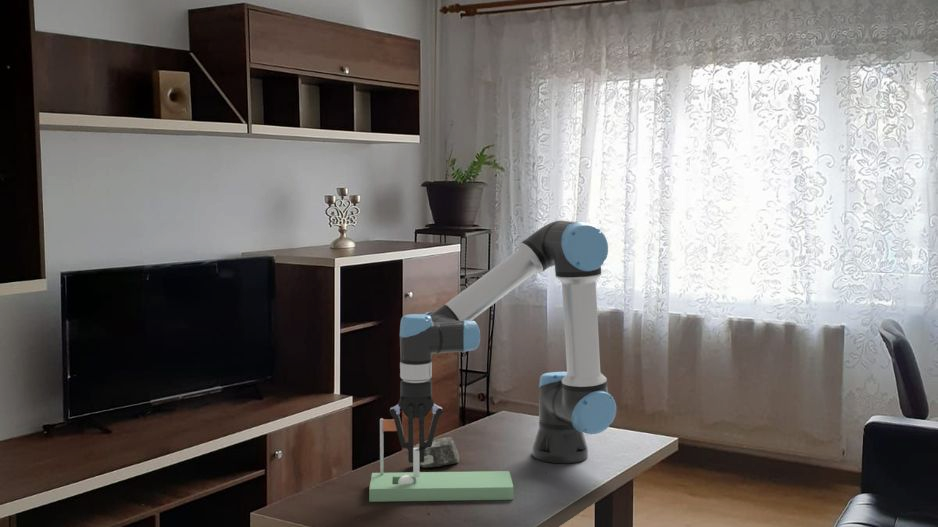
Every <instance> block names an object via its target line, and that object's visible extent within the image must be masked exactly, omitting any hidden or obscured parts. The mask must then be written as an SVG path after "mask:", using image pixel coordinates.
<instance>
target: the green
mask: <svg viewBox="0 0 938 527" xmlns="http://www.w3.org/2000/svg"><path fill="white" fill-rule="evenodd" d="M384 432H397V429H396V425H395V421H394V418H392V419H384V418H380V419H379V459H380V460H379V464H380V465H379V469H380V470H379V472H372V473H371V479H370V483H369V489H368V490H369V492H368V495H369V496H368V499H369V503H370V502H371V503H372V502H373V503H375V502H379V503H380V502H381V503H382V502H429V501H431V502H432V501H433V502H434V501H435V502H439V501H441V502H442V501H447V502H449V501H500V500H501V501H502V500H503V501H504V500H506V501H508V500H509V501H510V500H514V498H515V496H514V493H515V492H514V491H515V490H514V483H513V479H512V477H511V472H510V470H494V471H490V470H489V471H488V470H487V471H485V470H483V471H482V470H481V471H479V470H478V471H428V472H427V471H420V475H419V477H413V471H410V472H406V471H405V472H385V471H384V469H385V468H384V467H385V466H384ZM404 475H408V476H411V477H412V478H413V480H414V484H398V481H399V479H400V478H401V477H402V476H404Z"/></svg>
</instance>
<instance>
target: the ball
mask: <svg viewBox="0 0 938 527" xmlns="http://www.w3.org/2000/svg"><path fill="white" fill-rule="evenodd" d="M398 484H414V480H413V478H412V477H411V476H408V475H404V476H402V477H401V478H400V479H399V481H398Z"/></svg>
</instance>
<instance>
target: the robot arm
mask: <svg viewBox="0 0 938 527" xmlns="http://www.w3.org/2000/svg"><path fill="white" fill-rule="evenodd" d="M608 243H609V242H608V240H607V238H606V236H605V234H604V232H603V231H602V230H601V229H600V228H598V227H597V226H596V225H594V224H590V223H588V222H583V221H572V220H571V221H570V220H555V221H552V222H550V223H549V222H548V224H546V225H544V226H542V227H541V228H539V229H538V230H536V231H535V232H534V233H532V234H531V235H529V236H528V237H527V238H525V239H524V240H523V241H521V242H520V243H518V247H517V250H516V251H514V252H513V253H512V254H510V255H509V256H507V257H506V258H505V259H504V260H502V261H500V262H499V263H498V264H497V265H495V266H494V267H493V268H492V269H490V270H489V271H488V272H487V273H485V274H484V275H482V276H481V277H480V278H478V279H477V280H476V281H474V282H473V283H472V284H470V285H469V286H468V287H466V288H465V289H464V290H462V291H461V292H459V293H458V294H457V295H456V296H454V297H453V298H451V299H450V300H448V302H446V303H445V304H444V305H442V306H441V307H439V308H437V310H435V311H433V310H432V311H427V312H425V313H424V314H423V313H412V314H405V315H403V316H402V317H401V319H400V325H399V347H400V350H399V351H400V353H399V354H400V360H399V361H400V362H399V369H400V370H399V371H400V373H399V377H400V379H401V380H400V388H399V389H400V391H399V393H400V395H399V396H400V397H399V400H398V403H397V404H396V405H394V406H391V407H389V408H390V409H389V414H390V415H391V417H392V419H394V421H395V425H396V429H397V431H396V432H397V436H398V440H399V445H400V447H401V448H404V449H407V451H408V452H407V453H408V463H409V464H412V465H413V466H412V468H413V470H412V472H413V477H419V475H420V472H421V471H420V469H421V467H420V465H419V463H423V462H424V450H425V449H426V448H428V447H431V446H432V442H433V440H434V437H435V433H436V430H437V429H436V428H437V425H438V423H439V422H438V421H439V418H440V417H441V415H442V414H443V411H444V410H443V407H442V406H439V405H437V404H435V400H434V399H433V381H432V380H431V379H432V376H433V375H432V374H433V371H432V370H433V369H432V368H433V366H432V363H433V362H432V361H433V359H432V357H433V354H446V353H465V352H470V351H475V350H477V349H478V348H479V346H480V343H481V330H480V327H479V324H478V323H477V322H476V321H475V320H474V319H476V318H477V317H478V316H480V315H481V314H482V313H484V312H485V311H486V310H487V309H489V308H490V307H492V306H493V305H494V304H496V303H497V302H498V301H500V300H501V299H502V298H503V297H505V296H506V295H507V294H509V293H510V292H512V291H514V289H516V288H517V287H518V286H519V285H521V284H522V283H523V282H525V281H526V280H528V279H529V278H530V277H532V276H533V275H534V274H542V273H544V271H546V270H547V269H549V268H552V267H554V270H555V271H554V273H555V274H554V276H555V278H556V279H558V280H559V282H561V288H562V289H561V290H562V308H563V309H562V310H563V324H564V343H565V357H566V359H565V361H566V371H554V372H553V371H552V372H551V371H550V372H546V373H543V374H541V375H540V377H539V384H538V391H539V392H538V397H539V398H538V399H539V400H538V429H537V432H536V435H535V437H534V440H533V444H532V451H531V452H532V457H534V458H535V459H536V460H538V461H542V462H545V463H552V464H572V463H573V464H574V463H579V462H582V461H585V460H587V458H588V457H589V454H588V453H589V447H588V444H587V442H586V438H585V434H586V435H598V434H600V433H603V432H604V431H606V430H607V429H609V427H610V426H611V424H612V423H613V422H614V420H615V418H616V414H617V404H616V400H615V399H614V397H613V396H612V394H610V393H609V392H608V379H607V377H606V376H605V375H604V374H603V373H602V372H601V356H600V340H599V339H600V338H599V319H598V317H599V316H598V302H597V300H598V299H597V284H596V283H597V282H596V281H597V280H598V279H599V277H601V275H602V266H603V264H604V262H605V261H606V260H607V257H608V254H609V245H608ZM400 409H401V410H400ZM401 411H402V412H403V413H404V415H405V416H406V418H408V419H407V421H408V422H407V423H408V424H407V428H408V430H407V431H408V435H407V436H408V437H407V438H408V439H407V440H408V441H406V437H405V434H404V433H405V432H404V429H403V425H402V422H401V417H400V415H401V414H400V413H401ZM430 411H432V419H431V422H430V427H429V431H428V434H427V440H425V417H427V415H428V414H429V412H430ZM416 418H417V419H418V434H419V435H418V444H419V448H415V447H414V419H416Z"/></svg>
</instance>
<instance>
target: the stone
mask: <svg viewBox="0 0 938 527" xmlns="http://www.w3.org/2000/svg"><path fill="white" fill-rule="evenodd" d="M414 448H419V443H417V444H416V445H415V446H414ZM459 463H460V455H459V451H458V449H457V446H456V442H455V440H454V439H453V438H452V437H451V436H447V437H441V438H437V439H433V442H432V446H431V447H428V448H426V449H425V450H424V462H423V463H419V465H420V468H423V469H426V468H436V467H438V468H439V467H442V466H448V465H452V464H453V465H454V464H459Z"/></svg>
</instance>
